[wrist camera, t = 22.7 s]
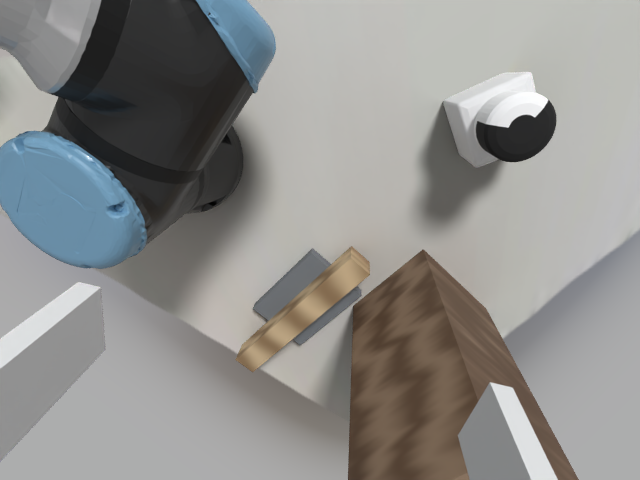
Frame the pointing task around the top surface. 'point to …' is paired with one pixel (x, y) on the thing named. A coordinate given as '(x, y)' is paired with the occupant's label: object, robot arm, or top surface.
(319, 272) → the mat
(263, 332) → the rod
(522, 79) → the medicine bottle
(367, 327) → the stand
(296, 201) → the top surface
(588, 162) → the top surface
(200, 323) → the top surface
